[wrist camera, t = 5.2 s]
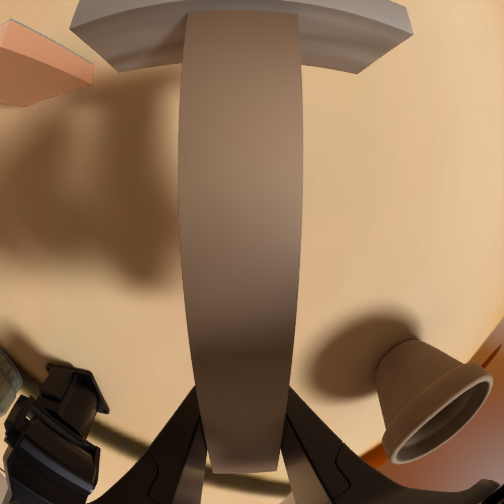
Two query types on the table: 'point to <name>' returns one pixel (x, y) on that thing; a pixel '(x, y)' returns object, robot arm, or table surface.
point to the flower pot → (426, 398)
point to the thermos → (8, 382)
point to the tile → (37, 66)
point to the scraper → (241, 181)
